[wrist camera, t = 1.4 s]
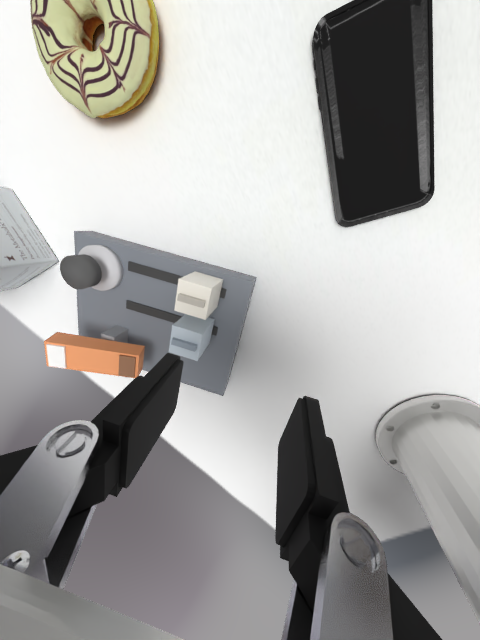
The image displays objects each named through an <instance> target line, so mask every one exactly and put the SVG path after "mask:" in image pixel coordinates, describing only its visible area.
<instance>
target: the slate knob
mask: <svg viewBox="0 0 480 640" xmlns="http://www.w3.org/2000/svg"><path fill="white" fill-rule="evenodd" d="M214 320H215V319H212V318H209V317H208V318H207V319H206V320H204V319H201V318H197V317H194V316H191V315H187V314H185V315H184V316H183V317H181V318H180V319H179V320H178V321H177V322H175V323H174V324H173V325H172V331H171V338H170V346H169V352H170V353H173V354H176V355H179V356H183V357H186V358H189V359H192V360H195V361H198V359H199V358H200V356H201V355H202V354H203V352H204V351H205V349H206V348H207V346H208V345H209V343H210V339H211V334H212V330H213V325H214Z"/></svg>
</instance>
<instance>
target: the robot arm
mask: <svg viewBox="0 0 480 640" xmlns="http://www.w3.org/2000/svg"><path fill="white" fill-rule="evenodd" d="M180 359H181V358H180V356H178V355H174V354H171V353H167V354H166V355H165V356H164V357H163V358H162V359H161V360H160V361H159V362H158V363H157V364H156V365H155V366H154V367H153V368H152V369H151V370H150V371H149V372H148V373H147V374H146V375H145V376H144V377H143V376H137V377H136V378H135V379H134V380H133V381H132V382H131V383H130V384H129V385H128V386H127V387H126V388H125V389H124V390H123V391H122V392H121V393H120V394H119V395H118V396H116V397H115V398H114V399H113V400H112V401H111V402H110V403H109V404H108V405H107V406H106V407H105V408H104V409H103V410H102V411H101V412H100V413H99V414H98V415H97V416H96V417H95V418H94V419H93V420H92V421H91V422H89V421H83V420H77V421H71V422H67V423H64V424H62V425H60V426H57V427H56V428H54V429H53V430H51V431H50V432H49V433H48V434H47V435H46V436H45V437H44V438H43V439H42V441H41V442H40V443H39V445H37V446H33V447H29V448H26V449H22V450H19V451H15V452H12V453H8V454H5V455H1V456H0V640H184V639H181V638H179V637H177V636H174V635H172V634H170V633H167V632H165V631H162V630H160V629H157V628H155V627H153V626H150V625H148V624H146V623H143V622H141V621H138V620H136V619H133V618H131V617H128V616H126V615H124V614H121V613H119V612H117V611H114V610H112V609H109V608H107V607H105V606H102V605H99V604H97V603H95V602H92V601H90V600H87V599H85V598H82V597H80V596H78V595H75V594H73V593H70V592H67V591H65V590H63V589H64V586H65V584H66V581H67V579H68V576H69V574H70V571H71V569H72V566H73V564H74V561H75V558H76V556H77V553H78V551H79V548H80V546H81V543H82V540H83V538H84V535H85V533H86V531H87V528H88V526H89V523H90V520H91V518H92V516H93V513H94V510H95V508H96V505H97V504H98V503H100V502H102V501H104V500H105V499H106V498H107V496H108V495H109V494H111V495H114V496H116V497H117V495H118V494H119V492H120V491H121V489H122V487H124V488H127V487H128V486H129V485H130V483H131V482H132V480H133V479H134V477H135V475H136V474H137V472H138V470H139V469H140V467H141V466H142V464H143V462H144V461H145V459H146V457H147V456H148V454H149V452H150V451H151V449H152V447H153V446H154V444H155V443H156V441H157V439H158V438H159V436H160V434H161V433H162V431H163V430H164V428H165V426H166V425H167V423H168V421H169V420H170V418H171V416H172V415H173V413H174V411H175V408H176V405H177V399H178V393H179V387H180V381H181V375H182V369H183V363H184V362H183V361H182V360H180ZM376 444H377V446H378V449H379V452H380V454H381V455H382V457H383V459H384V460H385V461H386V462H387V464H389V465H390V466H391V467H393V468H394V469H395V470H397V471H399V472H401V473H403V474H405V475H406V477H407V479H408V481H409V483H410V485H411V487H412V489H413V491H414V493H415V495H416V497H417V499H418V501H419V503H420V505H421V507H422V509H423V511H424V513H425V515H426V517H427V519H428V521H429V523H430V525H431V527H432V529H433V531H434V533H435V535H436V537H437V539H438V542H439V544H440V545H441V547H442V550H443V552H444V553H445V555H446V558H447V559H448V562H449V563H450V566H451V568H452V570H453V572H454V574H455V576H456V578H457V580H458V582H459V584H460V586H461V588H462V590H463V592H464V594H465V596H466V598H467V600H468V602H469V604H470V606H471V608H472V610H473V612H474V614H475V616H476V618H477V620H478V622H479V624H480V406H479V405H478V404H476V403H474V402H472V401H470V400H467V399H464V398H461V397H456V396H449V395H430V396H422V397H418V398H415V399H411V400H409V401H406V402H404V403H402V404H400V405H398V406H396V407H395V408H393V409H392V410H390V411H389V412H388V413H387V414H386V415H385V416H384V417H383V419H382V420H381V421H380V423H379V425H378V428H377V430H376ZM276 543H277V544H278V545H280V558H282V559H285V560H287V561H289V571H290V573H291V575H292V576H293V578H294V580H293V585H292V590H291V595H290V600H289V605H288V610H287V614H286V619H285V625H284V630H283V634H282V639H281V640H442V639H441V638H440V636H439V635H438V634H437V633H436V632H435V630H434V629H433V628H432V627H431V626H430V624H429V623H428V622H427V621H426V619H425V618H424V617H423V616H422V614H421V613H420V612H419V611H418V609H417V608H416V607H415V606H414V605H413V603H412V602H411V601H410V600H409V598H408V597H407V596H406V595H405V594H404V592H403V591H402V590H401V589H400V588H399V586H398V585H397V584H396V583H395V581H394V580H393V579H392V578H391V577H390V575H389V574H388V572H387V562H386V557H385V552H384V550H383V548H382V545H381V543H380V541H379V539H378V538H377V536H376V535H375V533H374V532H373V531H372V529H371V528H370V527H369V526H368V525H367V524H366V523H365V522H364V521H363V520H361V519H360V518H359V517H357V516H355V515H353V514H351V513H350V512H349V508H348V504H347V499H346V495H345V491H344V486H343V482H342V478H341V473H340V469H339V465H338V461H337V456H336V452H335V448H334V443H333V441H332V439H331V438H329V437H326V435H325V430H324V425H323V420H322V415H321V410H320V405H319V401H318V400H317V399H313V398H310V397H307V396H304V397H303V399H302V398H299V399H298V400H297V403H296V405H295V407H294V409H293V412H292V414H291V416H290V419H289V421H288V423H287V425H286V428H285V430H284V432H283V435H282V437H281V439H280V442H279V446H278V470H277V504H276Z"/></svg>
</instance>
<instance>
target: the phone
mask: <svg viewBox="0 0 480 640" xmlns="http://www.w3.org/2000/svg"><path fill="white" fill-rule="evenodd" d="M312 47H313V57H314V69H315V71H316V85H317V93H319V97H318V102H319V109H321V115H322V123H323V130H324V137H325V145H326V152H327V159H328V167H329V174H330V181H331V189H332V196H333V203H334V211H335V218H336V221H337V222H338V224H340V225H341V226H345V227H348V226H354V225H357V224H361V223H365V222H368V221H372V220H375V219H379V218H383V217H386V216H390V215H393V214H397V213H401V212H404V211H408V210H411V209H415V208H419V207H421V206H423V205H425V204H426V203H428V202H429V200H430V199H431V198H432V196H433V193H434V112H433V27H432V0H353V1H351V2H349V3H347V4H345V5H344V6H342V7H340V8H338V9H336V10H334V11H332V12H330V13H328V14H326V15H325V16H324V17H322V18H321V20H320V21H319V22H318V24H317V26H316V28H315V32H314V36H313V43H312Z"/></svg>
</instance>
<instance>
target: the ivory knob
mask: <svg viewBox="0 0 480 640" xmlns="http://www.w3.org/2000/svg"><path fill="white" fill-rule="evenodd" d="M222 283H223V279H220V278H217V277H213V276H210V275H206V274H203V273H199V272H196V271H195V272H193V273H190V274H188V275H186V276H184V277H182V278H179V279H178V287H177V294H176V301H175V309H174V311H177V312H181V313H184V314H187V315H191V316H194V317H197V318H201V319H204V320H206V319H207V318H208V317H209V315H210V314H211V313H212V312H213V311H214V310H215V309H216V308H217V306H218V302H219V297H220V292H221V288H222Z"/></svg>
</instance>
